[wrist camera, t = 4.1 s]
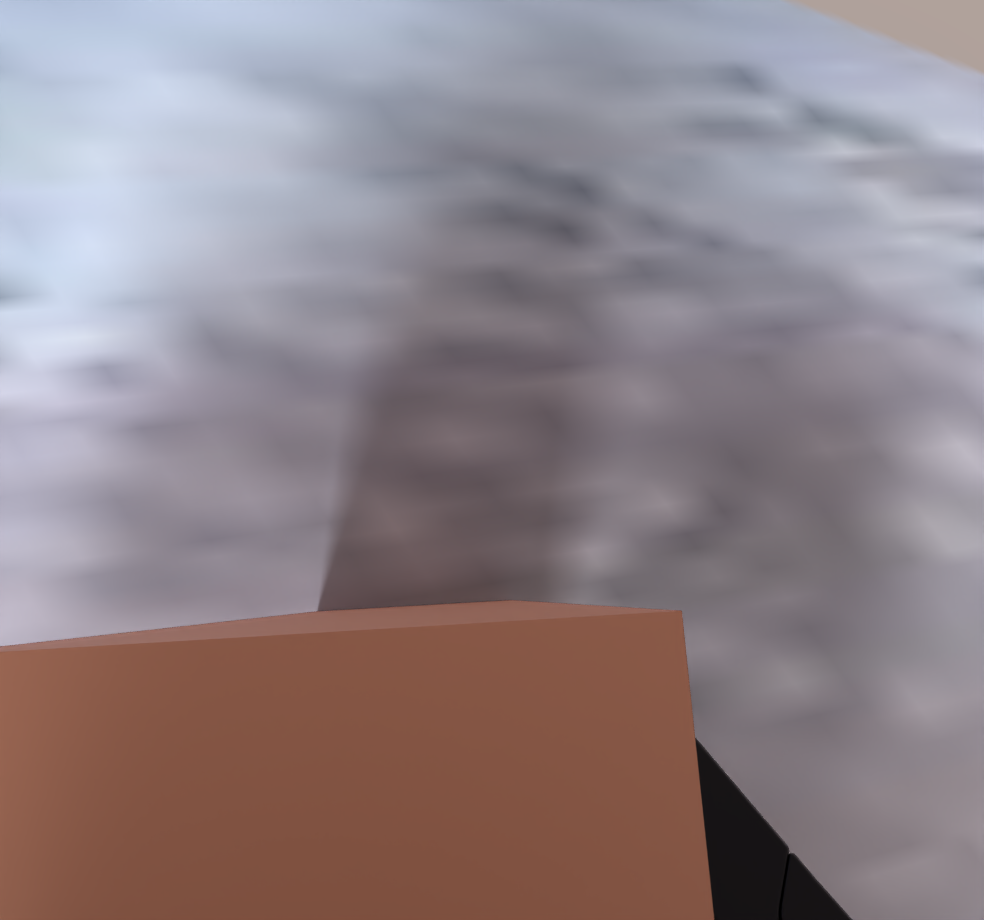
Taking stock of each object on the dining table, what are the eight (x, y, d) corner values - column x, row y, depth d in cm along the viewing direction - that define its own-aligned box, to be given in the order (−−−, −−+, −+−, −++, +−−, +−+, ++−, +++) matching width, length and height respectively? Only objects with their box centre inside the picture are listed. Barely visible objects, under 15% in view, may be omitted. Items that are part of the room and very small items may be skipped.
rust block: (523, 805, 16) (780, 1564, 3) (318, 821, 15) (-215, 1721, 3) (510, 600, 16) (681, 611, 4) (316, 611, 16) (-106, 658, 4)
